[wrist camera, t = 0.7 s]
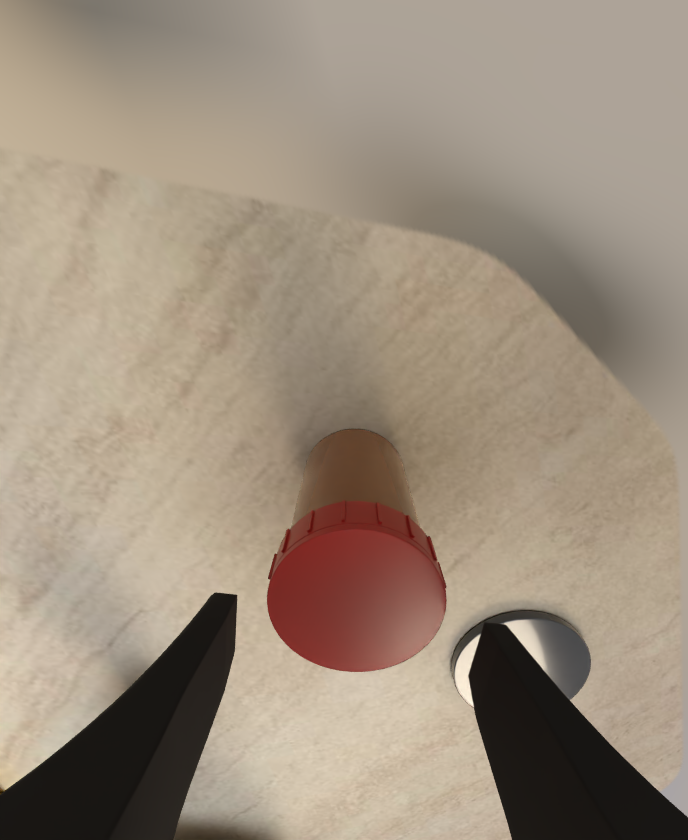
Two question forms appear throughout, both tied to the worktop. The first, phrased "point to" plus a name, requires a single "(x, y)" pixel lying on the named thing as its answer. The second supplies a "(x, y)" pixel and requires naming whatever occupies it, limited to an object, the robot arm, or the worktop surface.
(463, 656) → the coaster
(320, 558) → the lid
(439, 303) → the worktop surface
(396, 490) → the jar
